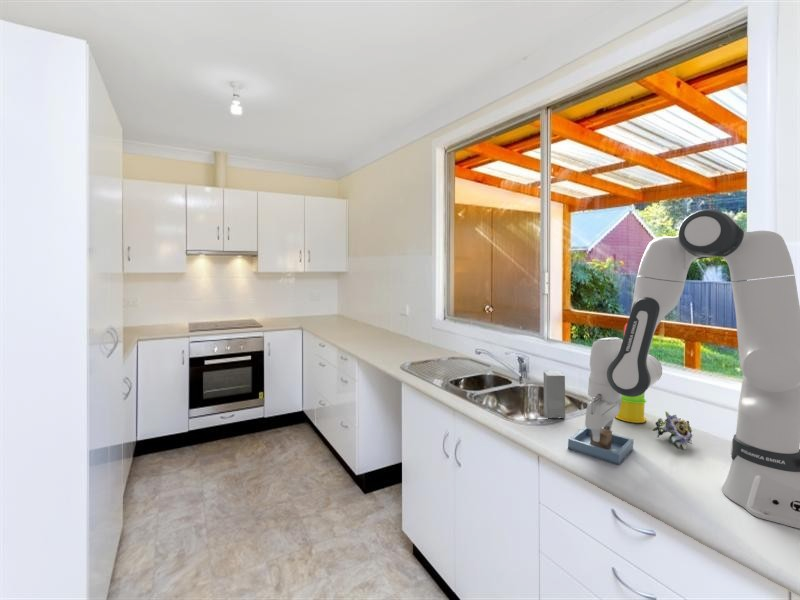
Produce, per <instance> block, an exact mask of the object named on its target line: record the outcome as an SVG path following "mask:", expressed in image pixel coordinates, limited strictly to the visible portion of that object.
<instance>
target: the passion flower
mask: <svg viewBox="0 0 800 600" xmlns="http://www.w3.org/2000/svg"><path fill="white" fill-rule="evenodd" d="M664 412H665V417H666V418H665V419H664V421H663V419H662V418H658V420H657V421H656V422H655V426H656V427H654V428H653V429H652V432H654V431H657V435H656V436H657V438H658V439H659V437H660V436H662V435H664V433H670V435H669V436H668V439H667V440H668V441H669V443H673V444H674V446H675V447H676V449H679V448H680V449H682V450H683V451H686V450H687V444H689V445H692V444H693V440H692V439H693V437H694V435H693V429H692V426H690V421H689V420H686V421H685V419H681V418H679V417H678V416H677V414H675V413H674V414H672V415H671V414H669V412H668V411H664ZM657 438H656V439H657Z"/></svg>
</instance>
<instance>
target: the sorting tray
mask: <svg viewBox="0 0 800 600" xmlns="http://www.w3.org/2000/svg"><path fill="white" fill-rule="evenodd" d="M590 441H591V429H588V428H586V426H583V427H582V428H581V429H579V430H578V431H576V432H575V433H574V434H573V435H572V436H570V437H569V438H568V441H567V449H568V450H570V451H575V452H578V453H580V454H583V455H586V456H589V457H592V458H595V459H598V460H602V461H604V462H607V463H610V464H614V465H617V466H620V465H621V464H622V462H624V460H626V458H627V457H628V456H629V455H630V454H631V452H632V451H633V450H634V439H632V438H630V437H625V436H621V435H619V434H615V433H612V441H611V448H610V449H609V450H607V449H604V448H600V447H597V446H594V445H591V444H590Z"/></svg>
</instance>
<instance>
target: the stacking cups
mask: <svg viewBox="0 0 800 600" xmlns="http://www.w3.org/2000/svg"><path fill="white" fill-rule="evenodd" d="M627 324H628V322H626V323H625V324H624V327H623V335H624V334H625V331H626V327H627ZM645 393H646V391H645V392H644V393H643V394H641V395H639V396H635V397H628V396H624V395H622V401H621V408H620V412H619V414H618V415H617V416H616V417H615V418H616V419H618V420H621V421H624V422H628V423H633V424H634V423H635V424H640V423H645V422H646V421H647V418H646V417H645V404H646V403H647V399H645Z"/></svg>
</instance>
